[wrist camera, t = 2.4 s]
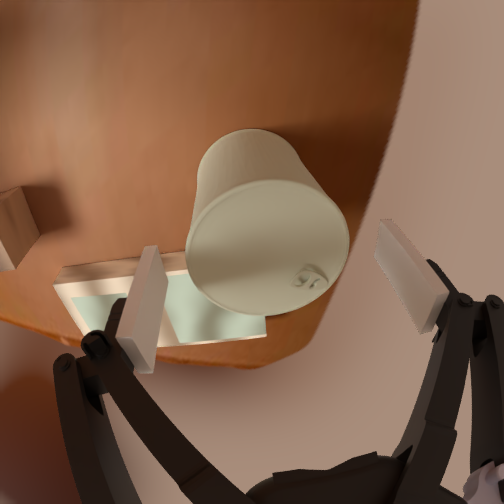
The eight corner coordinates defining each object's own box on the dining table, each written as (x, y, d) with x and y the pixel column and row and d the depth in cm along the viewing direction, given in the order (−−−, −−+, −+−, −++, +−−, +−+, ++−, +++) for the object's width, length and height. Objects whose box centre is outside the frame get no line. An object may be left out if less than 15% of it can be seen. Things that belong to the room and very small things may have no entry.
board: (98, 331, 35) (93, 349, 33) (62, 267, 29) (52, 285, 26) (263, 317, 36) (266, 336, 33) (256, 241, 29) (260, 260, 27)
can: (264, 240, 29) (287, 338, 20) (179, 198, 26) (156, 290, 16) (322, 164, 25) (384, 237, 15) (233, 108, 22) (243, 145, 12)
